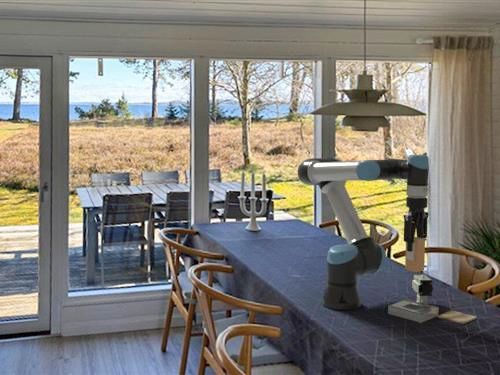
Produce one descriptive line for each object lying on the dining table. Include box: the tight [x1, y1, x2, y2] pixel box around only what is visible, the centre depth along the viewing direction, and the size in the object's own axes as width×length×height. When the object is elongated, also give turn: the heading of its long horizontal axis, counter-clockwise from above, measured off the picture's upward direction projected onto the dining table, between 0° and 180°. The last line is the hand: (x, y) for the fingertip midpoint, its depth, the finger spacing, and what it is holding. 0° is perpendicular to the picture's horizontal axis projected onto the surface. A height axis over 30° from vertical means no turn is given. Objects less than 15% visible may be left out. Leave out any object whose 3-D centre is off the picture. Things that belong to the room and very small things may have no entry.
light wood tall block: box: [404, 236, 426, 273], centre depth 214 cm, size 5×5×12 cm
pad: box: [437, 310, 478, 325], centre depth 213 cm, size 10×10×1 cm
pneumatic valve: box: [411, 274, 434, 304], centre depth 229 cm, size 6×12×12 cm, turn 2°
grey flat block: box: [387, 298, 440, 324], centre depth 217 cm, size 14×12×3 cm
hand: (414, 258), depth 215 cm, fingers closed on light wood tall block, 5 cm apart
